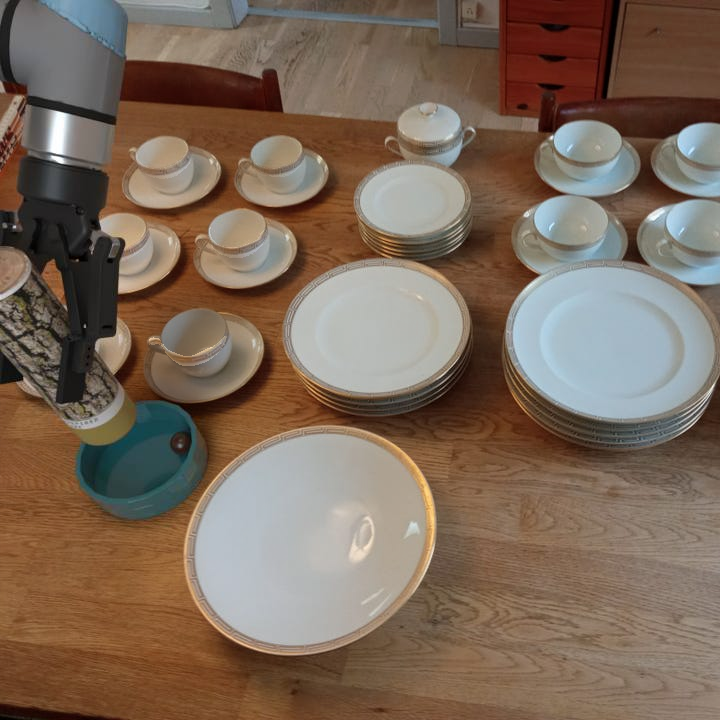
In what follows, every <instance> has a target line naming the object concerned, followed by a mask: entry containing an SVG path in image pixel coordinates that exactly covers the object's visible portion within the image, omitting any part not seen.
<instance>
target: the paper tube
mask: <svg viewBox="0 0 720 720" xmlns="http://www.w3.org/2000/svg"><path fill="white" fill-rule="evenodd" d="M65 336H71V330H70V324H69V318H68V312H67V308H66V307H65V306H64V305H63V303H62V302H61V301H60V299H59V298H58V297H57V294H55V291H53V289H51V286H50V285H49V284H48V283H47V282H46V280H45V279H44V277H43V275H40V273H39V272H38V270H37V269H36V268H35V266H34V265H33V263H32V262H31V261H30V259H29V258H28V257H27V256H26V255H25V253H24V252H22V251H21V250H19V249H17V248H14V247H6V246H2V247H0V350H1V352H2V353H3V354H4V355H5V356H6V357H7V358H8V359H9V360H10V362H11V363H12V364H13V365H14V366H15V367H16V368H17V369H18V370H19V372H20V373H21V374H22V375H23V376H24V379H25V380H26V381H27V382H28V383H29V384H30V385H31V386H32V387H33V389H35V391H36V392H37V393H38V394H39V395H40V396H41V397H42V399H43V400H44V401H45V402H46V403H47V404H48V406H49V407H50V408H51V409H52V410H53V411H54V412H55V413H56V415H58V416H59V417H60V419H61V420H62V421H63V423H65V424H66V425H67V426H68V427H69V428H70V430H71V431H72V432H73V433H74V434H75V435H76V436H77V438H79V439H80V440H81V442H82V441H83V442H85V443H87V444H90V445H96V446H98V445H108V444H111V443H114V442H116V441H118V440H120V439H121V438H123V437H124V436H125V435H126V434H127V433H128V432H129V431H130V430H131V429H132V427H133V425H134V423H135V421H136V417H137V410H136V407H135V405H134V403H135V402H134V401H133V400H132V399H131V397H130V396H129V394H128V393H127V391H126V390H125V389H124V388H123V386H122V384H121V383H120V382H119V380H118V379H117V378H116V377H115V375H114V373H113V372H112V371H111V369H110V368H109V367H108V365H107V364H106V363H105V361H104V360H103V358H102V357H101V355H100V353H98V351H97V350H96V349H95V351H94V357H93V366H92V369H91V370H90V371H89V372H86V379H85V387H84V394H83V400H81V401H76V402H71V403H66V404H62V405H61V404H58V403H55V399H56V391H57V383H58V376H59V368H60V360H61V352H62V344H63V339H64V338H66V337H65Z"/></svg>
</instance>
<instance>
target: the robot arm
mask: <svg viewBox="0 0 720 720" xmlns="http://www.w3.org/2000/svg"><path fill="white" fill-rule="evenodd" d="M128 23H129V17H128V13H127V12H126V9H125V8H124V7H123V6H122V4H120V3H119V2H117V1H116V0H0V82H5V83H9V84H13V85H17V86H21V85H22V86H25V87H26V99H25V109H24V117H23V125H22V132H21V141H20V147H22V148H23V149H24V150H27V155H22V157H20V158H19V160H18V170H17V178H16V179H17V180H16V192H17V193H18V194H19V195H20V196H22V197H23V198H22V202H21V204H20V205H19V207H18V208H17V210H10V209H1V208H0V247H2V246H6V247H14V248H17V249H19V250H21V251H22V252H24V253H25V255H26V256H27V257H28V258H29V259H30V261H31V262H32V263H33V265H34V266H35V268H36V269H37V270H38V272H39V273H40V275H41V276H43V273H44V271H45V268H46V266H47V264H48V263H49V262H51V261H53V260H54V264H55V268H56V270H58V271H59V272H60V275H61V281H62V287H63V293H64V300H65V306H66V310H67V312H68V318H69V324H70V330H71V336H65V337H66V338H64V339H63V344H62V352H61V360H60V368H59V376H58V383H57V391H56V399H55V403H58V404H61V405H62V404H66V403H71V402H76V401H81V400H83V394H84V387H85V379H86V372H89V371H90V370H91V369H92V366H93V357H94V351H95V350H96V345H97V344H96V343H97V342H98V340H100V339H101V340H102V339H109V338H114V337H116V335H117V327H118V306H119V305H118V303H119V284H120V262H121V260H122V257H123V254H124V252H125V249H126V240H125V239H124V238H123V237H120V236H119V237H117V236H111V235H110V234H108V233H107V232H105V231H103V230H102V226H101V222H100V213H101V211H102V210H103V209H105V207H106V205H107V200H108V192H109V185H110V184H109V183H110V176H108V175H109V174H108V172H105V171H104V167H106V168H107V167H109V166H111V165H112V158H113V150H114V142H115V136H116V135H115V134H116V127H117V122H118V121H117V120H118V119H117V118H118V113H119V105H120V99H121V91H122V87H123V80H124V71H125V66H126V62H127V58H128V56H127V54H126V53H127V52H126V51H127V37H128ZM24 379H25V377H24V376H23V375H22V374H21V373H20V372H19V370H18V369H17V368H16V367H15V366H14V365H13V364H12V363H11V362H10V360H9V359H8V358H7V357H6V356H5V355H4V354H3V353H2V352H1V350H0V386H1V385H6V384H13V383H19V382H23V381H24Z"/></svg>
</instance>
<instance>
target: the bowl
mask: <svg viewBox="0 0 720 720" xmlns="http://www.w3.org/2000/svg"><path fill="white" fill-rule="evenodd" d="M133 403H134V405H135V407H136V410H137V417H136V421H135V423H134V425H133V427H132V429H131V430H130V431H129V432H128V433H127V434H126V435H125V436H124V437H123V438H121V439H120V440H118V441H116V442H114V443H111V444H108V445H98V446H96V445H90V444H87V443H85V442H83V441H82V440H81V443H80V444H79V445H80V446H79V448H78V450H77V453H76V455H75V469H74V472H75V473H74V474H75V476H76V479H77V481H78V483H79V486H80V488H81V489H82V490H83V491H84V492H85V493H86V494H87V495H88V496H89V497H90V498H91V499H92V500H93V501H94V502H95V503H97V505H98V506H100V508H101V509H103V510H104V511H105V512H107V513H108V514H110V515H112V516H114V517H117V518H120V519H125V520H144V519H149V518H153V517H156V516H159V515H162V514H164V513H167V512H168V511H171V510H172V509H174V508H175V507H177V506H178V505H180V504H182V503H183V502H184V501H185V500H186V499H187V498H188V497H189V496H190V495H192V493H193V492H194V491H195V490H196V488H197V487H198V485H199V484H200V482H201V480H202V479H203V477H204V475H205V472H206V469H207V465H208V459H209V452H208V451H209V450H208V446H207V442H206V440H205V437H204V436H203V435H202V433H201V431H200V429H199V427H198V426H197V424H196V423H195V421H194V419H193V418H192V416H191V415H190V413H188V412H187V411H185V409H183V408H182V407H181V406H180V405H178V404H174V403H171V402H168V401H165V400H141V401H137V402H133ZM180 431H186V432H189V433H191V436H192V444H191V447H190V450H189V454H186V455H178V454H175V453H174V452H173V451H172V450H171V448H170V439H171V437H172V436H173V435H174V434H175V433H177V432H180Z"/></svg>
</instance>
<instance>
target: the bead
mask: <svg viewBox="0 0 720 720" xmlns="http://www.w3.org/2000/svg"><path fill="white" fill-rule="evenodd" d="M191 444H192V436H191V433H189V432H186V431H180V432H177V433H175V434H174V435H173V436H172V437H171V439H170V448H171V450H172V451H173V452H174V453H175V454H178V455H186V454H189V450H190V447H191Z"/></svg>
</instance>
